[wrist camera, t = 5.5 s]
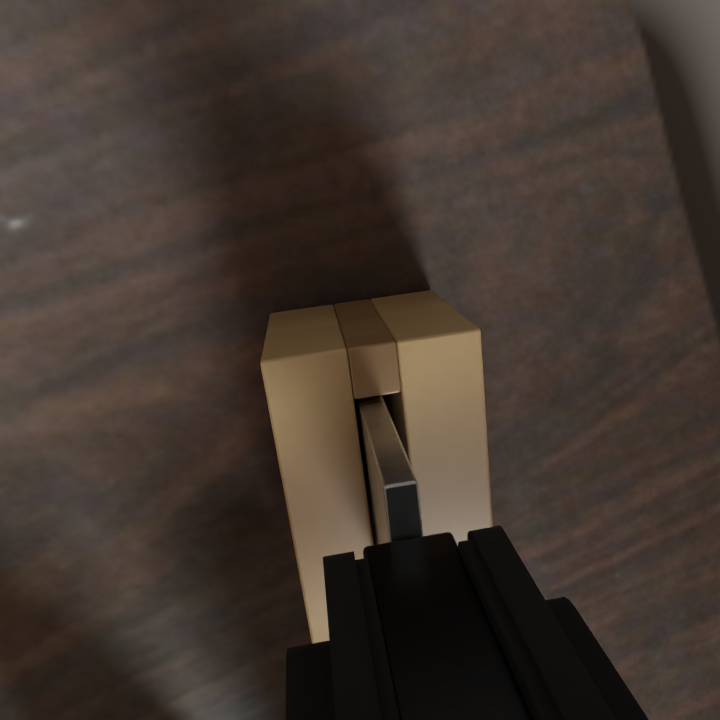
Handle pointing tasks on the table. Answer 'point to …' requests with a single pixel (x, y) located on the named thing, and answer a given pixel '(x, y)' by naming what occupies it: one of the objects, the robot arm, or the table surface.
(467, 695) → the knife
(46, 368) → the table surface
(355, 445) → the stand
